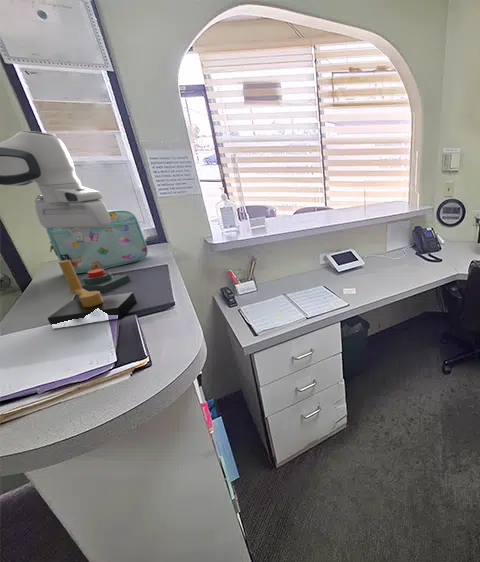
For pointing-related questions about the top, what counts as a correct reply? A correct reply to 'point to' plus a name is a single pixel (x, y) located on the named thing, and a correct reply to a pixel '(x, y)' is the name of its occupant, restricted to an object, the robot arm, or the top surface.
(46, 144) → the robot arm
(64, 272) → the crank handle
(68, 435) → the top surface
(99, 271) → the red button
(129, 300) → the valve block
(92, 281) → the control box
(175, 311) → the top surface
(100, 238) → the lunch box
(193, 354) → the top surface
